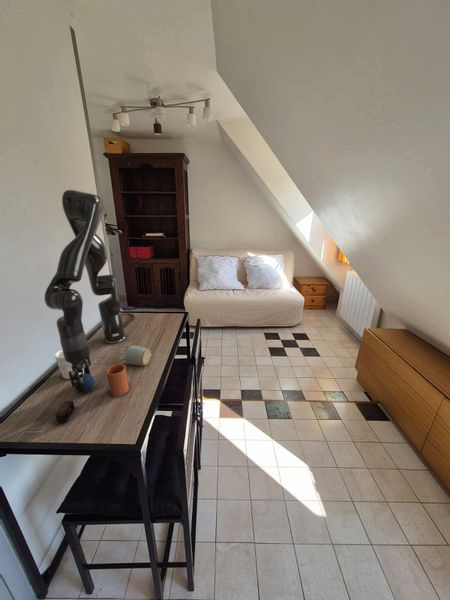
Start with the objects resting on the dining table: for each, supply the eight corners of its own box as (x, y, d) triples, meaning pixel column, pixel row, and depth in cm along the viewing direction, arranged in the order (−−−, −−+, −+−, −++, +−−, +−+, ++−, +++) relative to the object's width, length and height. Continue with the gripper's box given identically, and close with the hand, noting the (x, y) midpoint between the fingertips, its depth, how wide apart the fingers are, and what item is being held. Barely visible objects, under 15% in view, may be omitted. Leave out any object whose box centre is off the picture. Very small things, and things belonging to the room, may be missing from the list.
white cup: (60, 382, 95) (53, 360, 91) (62, 371, 101) (56, 350, 98) (83, 376, 98) (78, 354, 95) (83, 365, 105) (78, 345, 101)
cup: (112, 385, 93) (108, 365, 90) (129, 383, 94) (126, 362, 91) (109, 397, 87) (104, 375, 84) (127, 394, 88) (124, 373, 85)
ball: (79, 386, 93) (75, 371, 91) (97, 383, 94) (94, 368, 92) (73, 397, 87) (69, 382, 85) (93, 394, 88) (89, 379, 86)
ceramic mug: (143, 369, 102) (141, 353, 99) (125, 367, 103) (123, 351, 101) (156, 356, 111) (154, 340, 109) (139, 353, 113) (137, 338, 111)
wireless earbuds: (77, 406, 83) (74, 398, 82) (66, 423, 76) (63, 415, 75) (62, 407, 83) (60, 399, 82) (50, 424, 76) (47, 416, 75)
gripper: (80, 354, 78) (91, 397, 84) (92, 334, 92) (100, 371, 97) (54, 358, 77) (66, 401, 82) (69, 336, 90) (79, 374, 96)
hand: (85, 385), depth 90 cm, fingers open, 7 cm apart
